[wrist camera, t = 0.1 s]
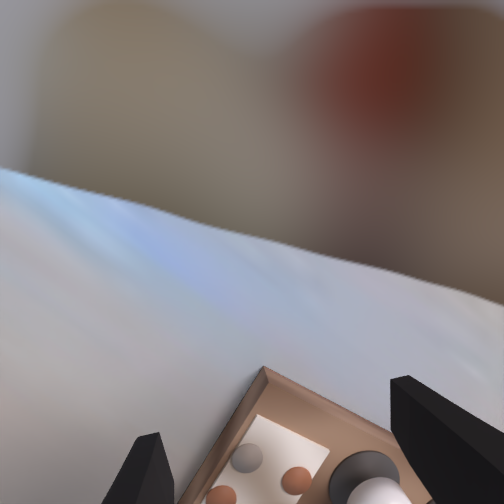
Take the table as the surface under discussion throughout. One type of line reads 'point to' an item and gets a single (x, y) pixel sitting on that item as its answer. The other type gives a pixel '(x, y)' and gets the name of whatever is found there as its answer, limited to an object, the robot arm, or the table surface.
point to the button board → (297, 451)
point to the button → (378, 492)
